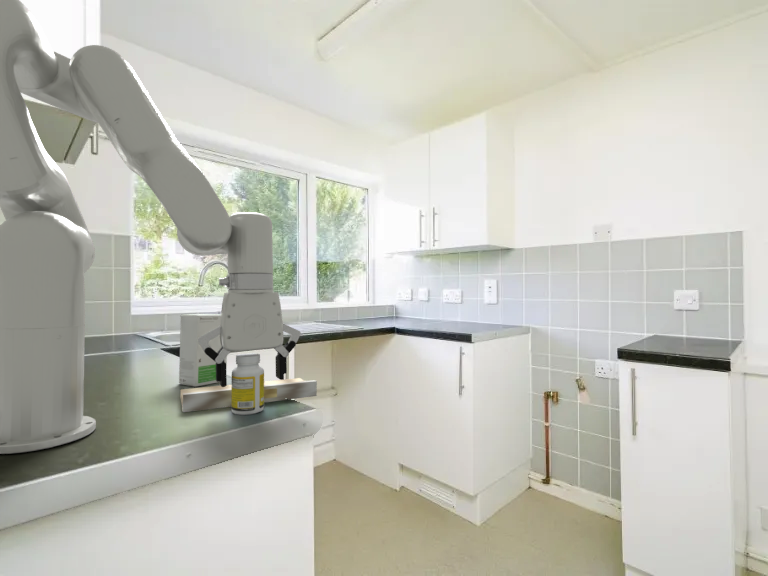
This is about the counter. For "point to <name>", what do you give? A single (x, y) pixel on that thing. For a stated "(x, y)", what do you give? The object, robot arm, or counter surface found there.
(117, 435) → the counter surface
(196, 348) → the skincare box
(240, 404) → the supplement bottle
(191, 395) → the shelf plank
